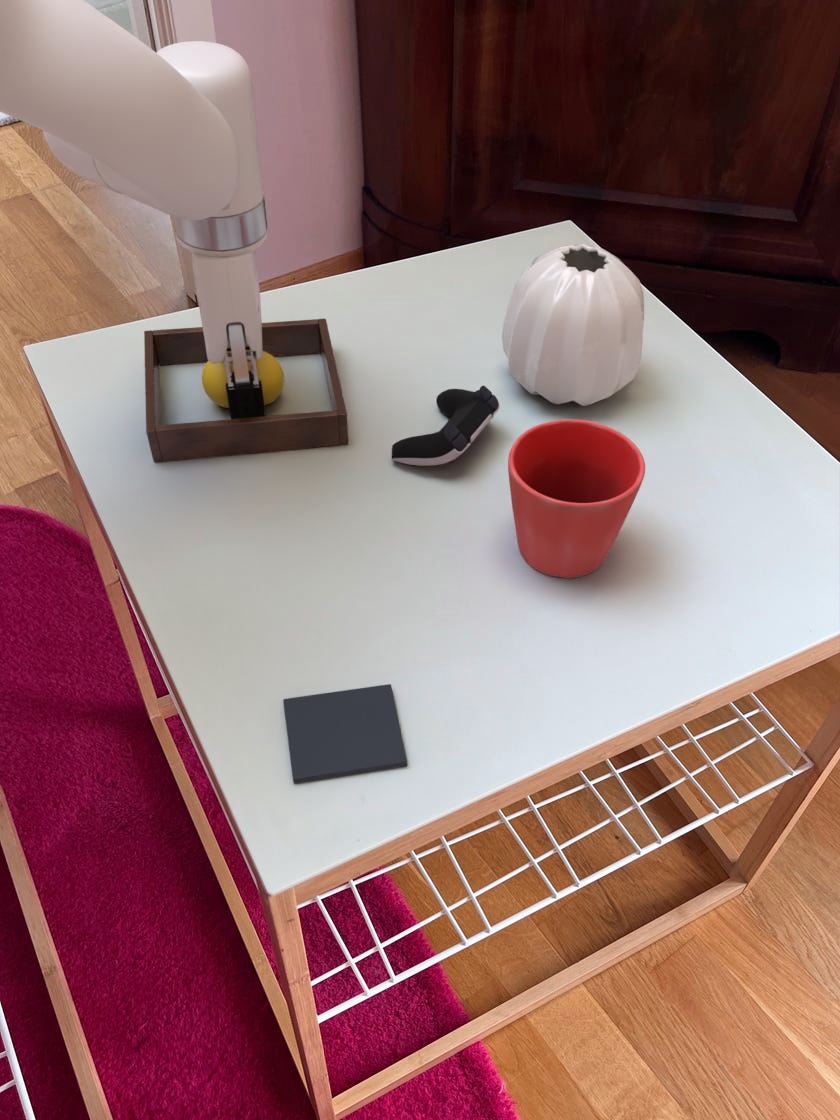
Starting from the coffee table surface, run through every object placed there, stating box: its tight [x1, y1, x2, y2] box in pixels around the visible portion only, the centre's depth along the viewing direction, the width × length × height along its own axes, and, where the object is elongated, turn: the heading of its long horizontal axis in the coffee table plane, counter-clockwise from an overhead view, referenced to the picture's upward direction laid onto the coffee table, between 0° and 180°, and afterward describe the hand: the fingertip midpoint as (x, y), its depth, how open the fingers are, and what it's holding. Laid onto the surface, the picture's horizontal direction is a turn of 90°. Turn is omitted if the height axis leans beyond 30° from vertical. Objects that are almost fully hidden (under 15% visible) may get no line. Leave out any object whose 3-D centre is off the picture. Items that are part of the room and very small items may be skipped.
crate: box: [143, 318, 349, 463], centre depth 93 cm, size 18×16×4 cm
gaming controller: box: [390, 385, 501, 467], centre depth 91 cm, size 11×4×7 cm
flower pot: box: [507, 419, 646, 579], centre depth 81 cm, size 11×11×10 cm
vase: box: [501, 243, 645, 407], centre depth 95 cm, size 14×14×13 cm
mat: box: [282, 683, 408, 784], centre depth 71 cm, size 8×7×1 cm
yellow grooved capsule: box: [201, 350, 285, 409], centre depth 93 cm, size 8×5×5 cm
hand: (246, 397), depth 94 cm, fingers closed on yellow grooved capsule, 5 cm apart
